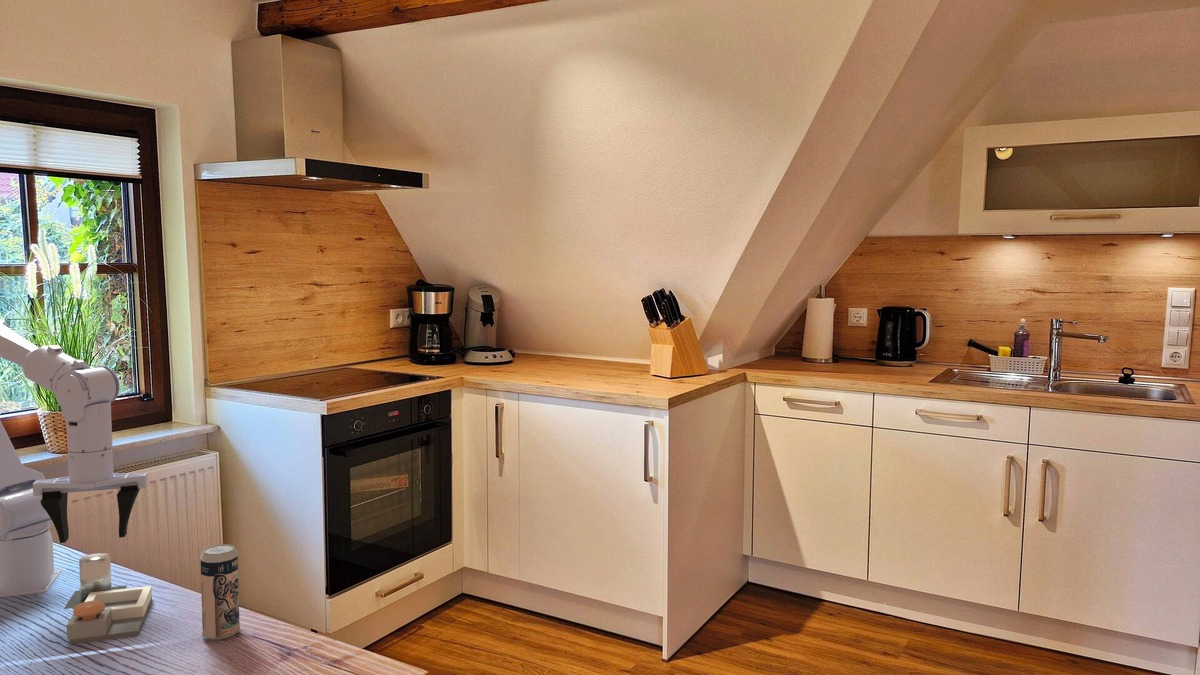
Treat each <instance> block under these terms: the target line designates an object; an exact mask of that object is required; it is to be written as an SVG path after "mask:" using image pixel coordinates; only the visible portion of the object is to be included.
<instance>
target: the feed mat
mask: <svg viewBox="0 0 1200 675" xmlns="http://www.w3.org/2000/svg"><path fill="white" fill-rule="evenodd" d="M127 586H128V585H127V584H126V585H117V586H111V588H112V590H118V589H127ZM83 602H85V601H82V600H81V591H80V589H79V590H74V592H73V593H72V595H71V596H70V598H69V600H67V603H66V604H65V605H64V607H63V609H64V610H65V609H73V608H74V607H75V606H76V605H78V604H80V603H83Z"/></svg>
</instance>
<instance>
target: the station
mask: <svg viewBox="0 0 1200 675" xmlns="http://www.w3.org/2000/svg"><path fill="white" fill-rule="evenodd" d="M152 588H153V587H152V585H145V586H136V587H128V588H127V587H126V588H125V589H118V590H109V591H100V592H91V593H90V594H89V595H88V597H87V599H86V600H85V602H87V601H96V600H98V601H103V602H104V603H105V610H104V611H103V612H101V613H99V614H97V615H96V616H97V619H90V620H83V617H76V616H74V613H73V614H72V616H71V617H70V619H69V621H68V622H67V624H66V640H68V641H69V642H68V644H69V645H74V644H75V645H76V644H83V643H91V642H98V641H105V640H106V641H107V640H113V639H121V638H129V637H136V636H137V637H138V636H139V633H140V631H141V629H142V626H143V624H144V621H145V619H146V616H147V614H148V611H149V610H150V609H149V608H150V606H151V603H152V601H153V591H152V590H153V589H152Z"/></svg>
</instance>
